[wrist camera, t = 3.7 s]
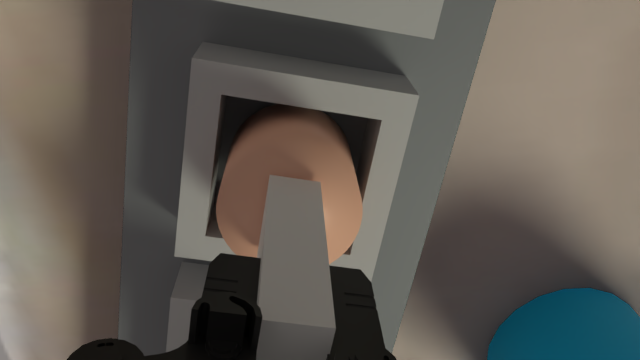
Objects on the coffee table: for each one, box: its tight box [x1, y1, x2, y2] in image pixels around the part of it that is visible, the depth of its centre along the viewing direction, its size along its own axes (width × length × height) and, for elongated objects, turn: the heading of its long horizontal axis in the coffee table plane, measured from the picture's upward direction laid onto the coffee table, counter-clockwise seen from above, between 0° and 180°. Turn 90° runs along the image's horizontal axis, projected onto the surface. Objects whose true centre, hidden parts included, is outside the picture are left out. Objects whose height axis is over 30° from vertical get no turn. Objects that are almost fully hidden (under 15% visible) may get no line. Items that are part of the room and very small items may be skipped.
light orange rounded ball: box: [216, 104, 363, 264], centre depth 19 cm, size 4×4×4 cm
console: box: [118, 0, 496, 356], centre depth 22 cm, size 30×12×5 cm, turn 170°
